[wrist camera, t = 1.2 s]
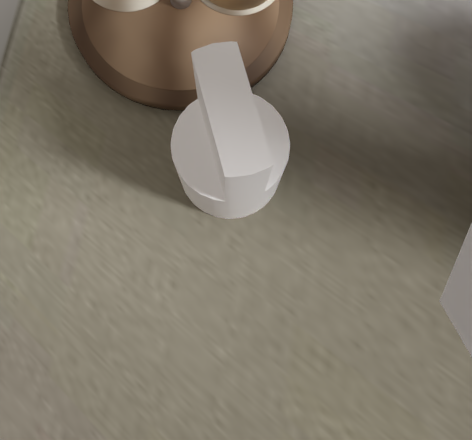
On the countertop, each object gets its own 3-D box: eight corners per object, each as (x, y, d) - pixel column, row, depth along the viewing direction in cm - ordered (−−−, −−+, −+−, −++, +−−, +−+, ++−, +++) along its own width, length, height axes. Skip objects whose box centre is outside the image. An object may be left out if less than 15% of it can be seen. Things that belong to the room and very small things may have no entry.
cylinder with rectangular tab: (169, 135, 38) (143, 59, 26) (265, 112, 39) (281, 27, 27) (193, 230, 36) (176, 193, 25) (292, 204, 37) (322, 156, 25)
